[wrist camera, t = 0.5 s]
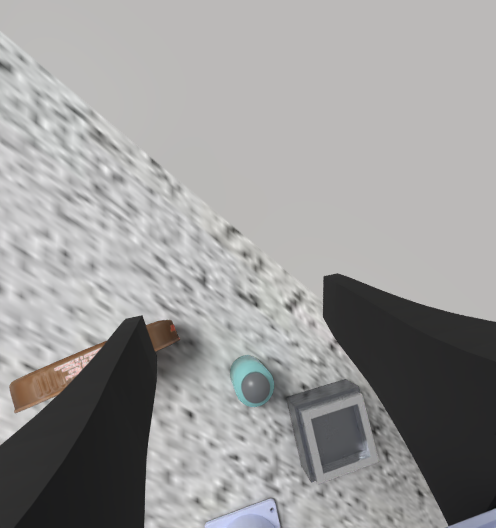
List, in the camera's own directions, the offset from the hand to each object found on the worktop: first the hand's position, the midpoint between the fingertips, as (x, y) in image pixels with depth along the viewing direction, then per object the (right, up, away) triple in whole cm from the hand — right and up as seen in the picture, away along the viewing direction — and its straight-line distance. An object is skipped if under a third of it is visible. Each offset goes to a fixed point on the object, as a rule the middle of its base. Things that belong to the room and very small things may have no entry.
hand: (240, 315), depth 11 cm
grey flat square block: (+10, -17, +23) cm, 30 cm away
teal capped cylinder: (0, -11, +22) cm, 25 cm away
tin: (-15, -8, +20) cm, 26 cm away
